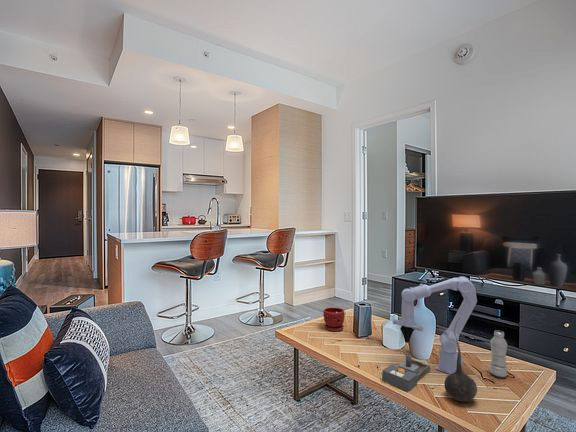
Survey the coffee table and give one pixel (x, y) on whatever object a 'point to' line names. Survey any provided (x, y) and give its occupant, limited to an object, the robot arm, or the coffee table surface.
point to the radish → (460, 382)
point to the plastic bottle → (498, 354)
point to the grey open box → (399, 378)
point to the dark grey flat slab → (421, 369)
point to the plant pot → (334, 319)
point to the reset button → (401, 370)
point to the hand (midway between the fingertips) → (407, 342)
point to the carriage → (409, 365)
